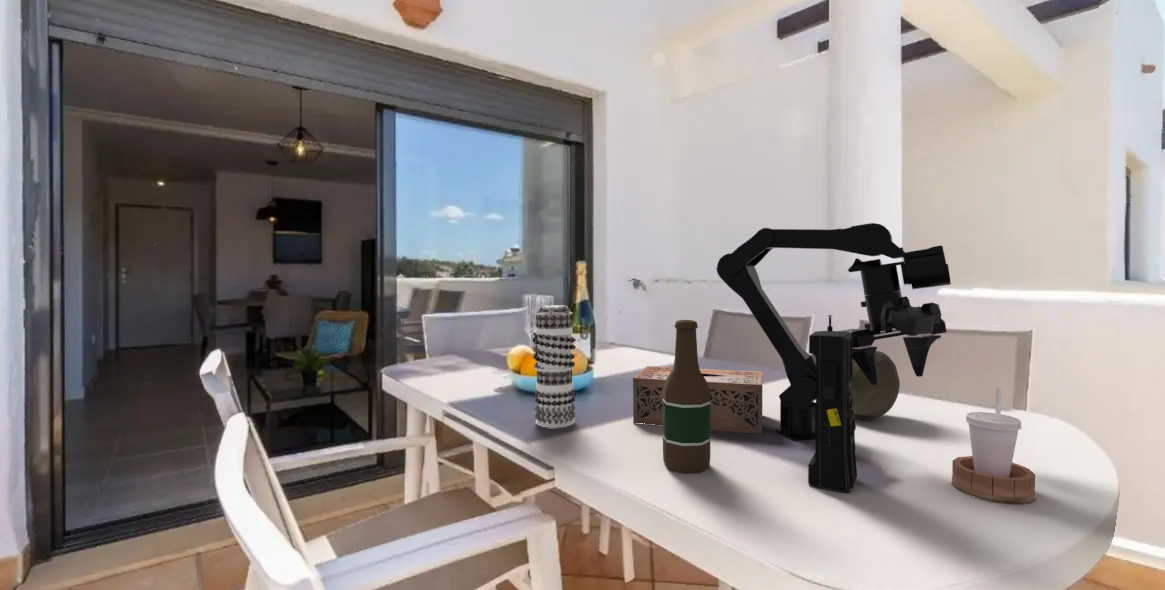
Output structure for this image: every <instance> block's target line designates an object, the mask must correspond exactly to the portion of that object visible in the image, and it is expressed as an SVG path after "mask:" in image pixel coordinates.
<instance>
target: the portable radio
mask: <svg viewBox="0 0 1165 590" xmlns="http://www.w3.org/2000/svg"><path fill="white" fill-rule="evenodd" d="M827 317H828V326H827V327H826V329H827V330H818V331H814V332H813V333H811V334H809V336H808V337H809V339H808V354H811V355H812V354H814V355H815V357H816V400H815V403H816V438H815V441H814V442H815V443H814V445H815V447H814V448H815V449H814V451H815V452H814V454H813V456H812V458H811V460H810V461H809V463H808V465H807V466H808V467H807V468H808V470H807V472H808V473H807V483H808V485H810V486H813V487H816V488H820V489H825V490H829V491H830V490H831V491H836V492H841V493H846V494H847V493H848V494H849V493H850V491H851V490H853V489H854V487H855V485H856V482H857V477H858V470H857V469H858V468H857V460H856V459H857V458H856V438H855V436H856V435H855V431H856V427H857V424H856V419H855V417H854V410H852V409H851V408H852V393H851V392H850V390H851V388H852V356H853V337H852V335H851V334H850V333H849V332H843V331H842V330H833V326H832V317H833V315H830V314H829V315H827Z"/></svg>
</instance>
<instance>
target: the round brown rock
mask: <svg viewBox="0 0 1165 590" xmlns="http://www.w3.org/2000/svg"><path fill="white" fill-rule="evenodd" d="M874 361H875V367H876V373H877V385H872V384H871V383H870V382H869V380H868V379H867V377H866V376H865V375H864V373H863V372H862V370H861V369H860V367H859V366H858V365H857V363H856V362H855V361H854V360H853V358H852V388H851V390H850V392H851V393H852V408H851V409H852V410H854V418H856V419H860V420H863V421H864V420H867V421H870V420H876V419H878V418H881V417H883V416H884V415H885V414H887V413H888V412H889V411H890V410H891V409H892V408H893V406H894V405H895V403H896V401H897V399H898V396H899V392H900V387H901V385H900V377H899V372H898V368H897V367H896V364H895V362H894V361H893V359H891V357H890V356H889V355H887V354H886V353H885V352H883V351H880V350H876V351H875V354H874Z"/></svg>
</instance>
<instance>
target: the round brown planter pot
mask: <svg viewBox="0 0 1165 590" xmlns="http://www.w3.org/2000/svg"><path fill="white" fill-rule="evenodd" d="M951 463H952V465H951V466H952V467H951V468H952V469H951V470H952V471H951V472H952V473H951V486H953V487H954V488H955V489H956V490H958V491H959V492H961V493H963V494H966V495H967V496H970V495H971V497H973V496H974V498H976V497H977V498H976V499H980V500H984V501H989V502H993V503H999V504H1004V505H1005V504H1007V505H1026V504H1032V503H1033V502H1035V501H1036V473H1034V472H1033V471H1032V470H1031V469H1030V468H1028V467H1026V466H1023V465H1020V464H1017V463H1015V462H1012V466H1011V471H1010V477H1009V478H1008V477H998V476H991V475H987V474H983V473H979V472H975V471H974V464H973V455H971V456H970V455H968V456H967V455H966V456H959V457H958V456H957V457H956V458H955V459H953V460H952V462H951Z"/></svg>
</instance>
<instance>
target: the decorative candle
mask: <svg viewBox="0 0 1165 590" xmlns="http://www.w3.org/2000/svg"><path fill="white" fill-rule="evenodd" d="M534 314H535V331H534V332H532V333H531V334H532V335H533V336H534V337H532V339H531V341H532V343H534V345H535V344H536V345H535V346H534V347H533V349H532V351H533V352H534V354H533V359H534V360H535V361H536V362H535V363H534V366H533V367H534V370H535V371H536V383H535V384H536V385H535V386H536V390H535V391H534V395H535V396H536V397H535V399H534V402H536V404H535V407H534V411H535V415H534V418H535V419H536V420H535V425H536V424H537V425H540V426H543V427H565V428H567V427H566V426H569V425H572V424H573V423H575V422H576V420H575V418H576V412H575V410H576V405H575V404H574V402H575V400H576V398H575V396H573V395H575V393H576V390H575V389H574V381H573V370H575V366H576V362H574V361H573V360H574V359H575V358H576V355H575V354H574V353H572V350H575V349H576V345H574V343H575V342H576V338H575V337H573V336H572V335H573V326H572V325H573V324H572V322H573V321H572V314H573V312H572V311H570V309H569V307H568V306H567V305H563V304H562V305H561V304H559V305H558V304H555V305H554V304H552V305H551V304H550V305H542V306H540V307H539V308H538V311H537V312H535V313H534ZM575 424H576V423H575ZM537 425H536V426H537ZM573 425H574V424H573ZM573 425H572V426H573ZM543 427H542V428H543ZM569 427H570V426H569Z"/></svg>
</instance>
